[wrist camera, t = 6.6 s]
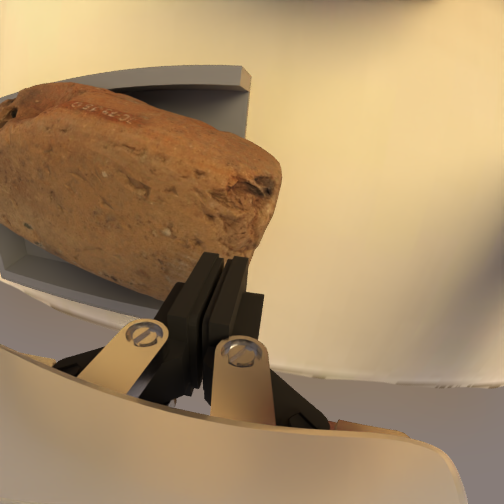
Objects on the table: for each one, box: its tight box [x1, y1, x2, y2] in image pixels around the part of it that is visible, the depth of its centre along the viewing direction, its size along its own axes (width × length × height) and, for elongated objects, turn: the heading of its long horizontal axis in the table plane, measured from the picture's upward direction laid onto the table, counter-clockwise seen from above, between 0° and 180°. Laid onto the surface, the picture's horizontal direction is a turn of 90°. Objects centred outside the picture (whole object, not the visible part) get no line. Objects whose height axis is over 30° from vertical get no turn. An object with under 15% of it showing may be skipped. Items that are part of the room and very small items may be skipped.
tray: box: [0, 65, 251, 319], centre depth 21 cm, size 25×18×4 cm
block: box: [0, 82, 282, 301], centre depth 17 cm, size 11×8×20 cm
